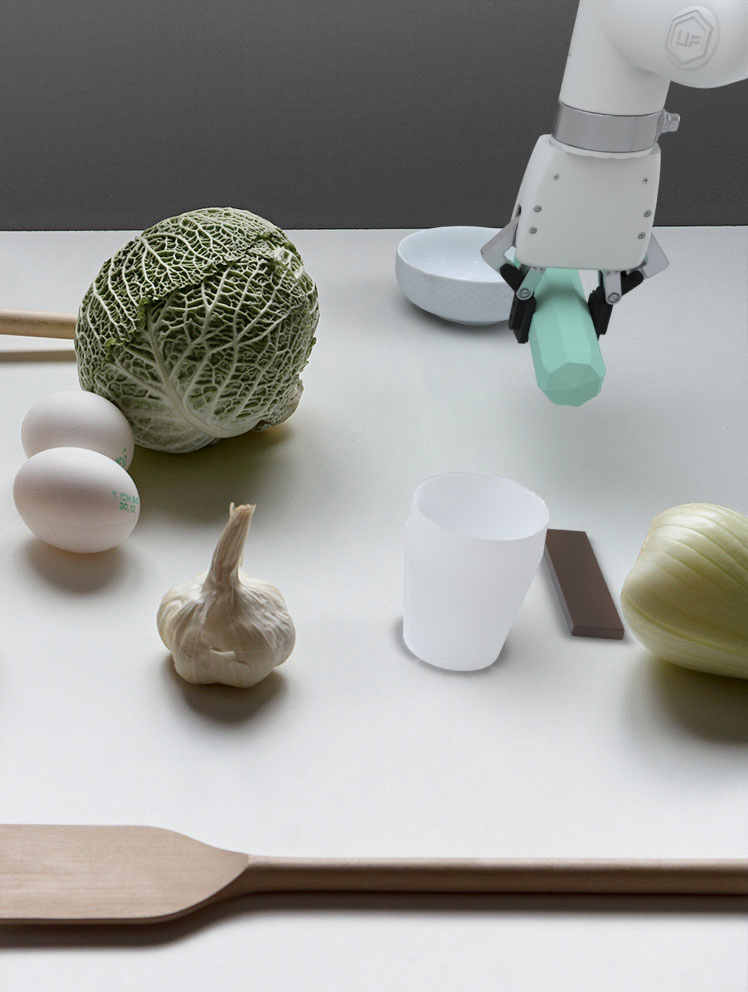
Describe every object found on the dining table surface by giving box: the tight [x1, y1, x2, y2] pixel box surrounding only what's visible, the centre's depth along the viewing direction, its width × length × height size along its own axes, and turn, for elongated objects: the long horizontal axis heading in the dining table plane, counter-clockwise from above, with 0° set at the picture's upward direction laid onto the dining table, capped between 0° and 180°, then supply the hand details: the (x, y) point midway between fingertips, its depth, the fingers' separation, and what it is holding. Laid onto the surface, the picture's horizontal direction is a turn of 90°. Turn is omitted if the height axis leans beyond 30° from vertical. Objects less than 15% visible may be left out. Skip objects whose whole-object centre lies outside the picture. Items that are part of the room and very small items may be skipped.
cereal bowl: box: [394, 225, 516, 326], centre depth 141 cm, size 17×17×7 cm
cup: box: [402, 471, 550, 672], centre depth 90 cm, size 9×9×12 cm
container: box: [513, 250, 607, 408], centre depth 110 cm, size 6×6×25 cm
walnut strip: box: [543, 528, 626, 641], centre depth 99 cm, size 4×13×1 cm, turn 171°
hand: (554, 337), depth 110 cm, fingers closed on container, 4 cm apart
